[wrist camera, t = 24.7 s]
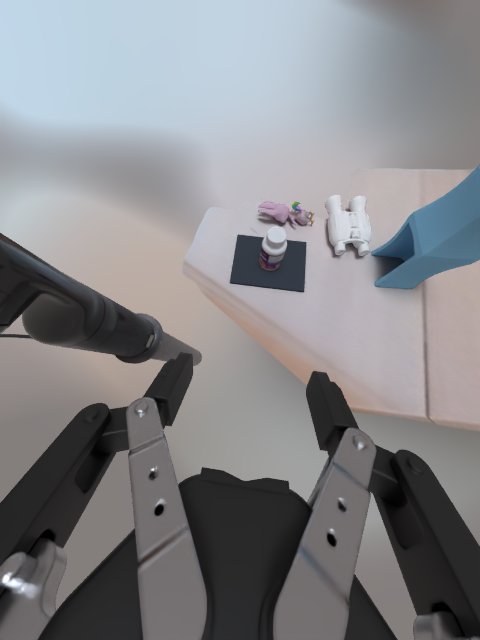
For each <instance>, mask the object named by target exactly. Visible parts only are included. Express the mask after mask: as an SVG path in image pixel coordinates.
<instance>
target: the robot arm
mask: <svg viewBox="0 0 480 640" xmlns="http://www.w3.org/2000/svg"><path fill="white" fill-rule="evenodd" d="M21 314H22V321H23V326H24V328H25V330H26V332H27V333H28V334H29V335H16V334H1V333H2V332H4V331H5V330H6V329H7V328H8V327H9V326H10V325H11V324H12V323H13V322H14V321H15V320H16V319H17V318H18V317H19V316H20V315H21ZM0 337H18V338H32V339H35V340H36V341H39V342H41V343H44V344H49V345H54V346H61V347H67V348H74V349H81V350H88V351H94V352H101V353H107V354H114V355H120V356H125V357H130V358H135V357H140V356H142V355H144V354H146V353H147V352H148V351H149V350H150V349H151V348H152V346H153V345H154V342H155V339H156V331H155V328H154V326H153V324H152V323H151V322H149V321H148V320H146V319H144V318H142V317H140V316H139V315H137V314H135V313H133V312H131V311H130V310H128V309H126V308H125V307H123V306H121V305H119V304H118V303H116V302H114V301H112V300H111V299H109V298H107V297H105V296H103V295H102V294H100V293H98V292H96V291H95V290H93V289H91V288H89V287H88V286H86V285H84V284H82V283H80V282H78V281H76V280H75V279H73V278H71V277H69V276H67V275H66V274H64V273H62V272H60V271H59V270H57V269H56V268H54V267H53V266H51V265H50V264H48V263H47V262H45V261H43V260H42V259H40V258H39V257H37V256H36V255H34V254H33V253H31V252H30V251H28V250H26V249H25V248H23V247H22V246H20V245H19V244H17V243H16V242H14V241H12V240H11V239H9V238H8V237H6V236H4V235H3V234H1V233H0ZM192 376H193V356H192V354H189V353H182V352H181V353H180V354H179V355H178V357H177V359H176V360H175V359H171V360H169V361H168V362H167V363H165V364H164V366H163V367H162V369H161V371H160V372H159V373H158V375H157V377H156V378H155V379H154V381H153V382H152V384H151V385H150V387H149V388H148V390H147V391H146V393H145V395H144V396H143V397H142V398H140V399H137V400H135V401H134V402H133V403H131V404H130V406H127V407H123V408H116V409H109V408H108V406H107V405H106V404H103V403H96V404H92V405H90V406H88V407H86V408H84V409H82V410H81V411H80V412H79V413H78V414H77V415H76V416H75V417H74V419H73V420H72V421H71V422H70V423H69V424H68V425H67V427H66V428H65V429H64V430H63V431H62V432H61V433H60V435H59V436H58V437H57V438H56V439H55V440H54V442H53V443H52V444H51V445H50V446H49V447H48V449H47V450H46V451H45V452H44V453H43V454H42V456H41V457H40V458H39V459H38V460H37V461H36V463H35V464H34V465H33V466H32V467H31V468H30V469H29V471H28V472H27V473H26V474H25V475H24V476H23V478H22V479H21V480H20V481H19V482H18V483H17V485H16V486H15V487H14V488H13V489H12V490H11V491H10V493H9V494H8V495H7V496H6V497H5V498H4V500H3V501H2V502H1V503H0V640H397V638H396V637H395V635H394V633H393V632H392V630H391V629H390V628H389V626H388V624H387V623H386V621H385V620H384V618H383V617H382V615H381V614H380V612H379V611H378V609H377V607H376V606H375V605H374V603H373V601H372V600H371V598H370V597H369V595H368V594H367V592H366V591H365V589H364V588H363V586H362V585H361V583H360V581H359V580H358V578H357V577H356V575H355V574H354V571H355V567H356V562H357V558H358V553H359V548H360V544H361V539H362V534H363V530H364V526H365V521H366V516H367V512H368V507H369V503H370V497H371V494H370V492H371V493H373V495H374V498H375V500H376V503H377V506H378V509H379V512H380V514H381V517H382V520H383V523H384V525H385V528H386V531H387V534H388V536H389V539H390V542H391V544H392V547H393V550H394V553H395V556H396V558H397V561H398V564H399V567H400V569H401V572H402V575H403V578H404V580H405V583H406V586H407V589H408V591H409V594H410V597H411V600H412V603H413V605H414V608H415V611H416V614H417V617H416V619H415V621H414V625H413V632H414V633H413V634H414V640H480V546H479V545H478V543H477V542H476V540H475V539H474V537H473V535H472V534H471V532H470V530H469V529H468V527H467V526H466V524H465V523H464V521H463V519H462V518H461V516H460V515H459V513H458V511H457V510H456V508H455V507H454V505H453V503H452V502H451V501H450V499H449V497H448V496H447V494H446V492H445V491H444V489H443V488H442V486H441V485H440V483H439V481H438V480H437V478H436V477H435V475H434V473H433V472H432V470H431V469H430V467H429V466H428V465H427V464H426V463H425V462H424V461H423V460H422V459H421V458H420V457H419V456H417V455H416V454H414V453H412V452H410V451H407V450H399V451H398V452H396V453H395V454H394V453H392V452H390V451H388V450H385V449H383V448H381V447H379V446H377V445H375V444H374V443H373V441H372V440H371V438H370V437H369V436H368V435H367V434H366V433H364V432H363V431H361V430H360V429H359V428H358V425H357V423H356V421H355V419H354V417H353V415H352V412H351V410H350V408H349V406H348V405H347V402H346V400H345V398H344V395H343V393H342V391H341V389H340V388H339V387H338V386H337V385H336V384H335V382H330V380H329V377H328V375H327V373H324V372H317V371H313V372H312V375H311V377H310V380H309V383H308V385H307V388H306V397H307V401H308V405H309V409H310V412H311V416H312V420H313V424H314V428H315V432H316V436H317V440H318V444H319V448H320V450H324V451H328V455H329V458H328V459H327V461H326V463H325V466H324V468H323V470H322V472H321V475H320V477H319V479H318V481H317V484H316V486H315V488H314V490H313V492H312V494H311V496H310V497H309V499H308V502H306V501H305V500H304V499H303V498H302V497H300V496H299V495H298V494H297V493H295V492H294V491H292V490H290V489H289V482H288V481H284V480H278V479H271V478H263V479H257V480H251V481H243V480H240V479H239V478H236V477H234V476H233V475H231V474H229V473H226V472H225V471H221V470H215V469H210V468H203V467H202V470H201V474H198V475H194V476H191V477H189V478H187V479H185V480H184V481H182V482H181V483H179V484H178V483H177V479H176V475H175V472H174V467H173V464H172V460H171V456H170V452H169V449H168V444H167V441H166V437H165V435H164V431H163V429H164V428H165V425H166V426H172V424H173V421H174V419H175V417H176V414H177V412H178V409H179V407H180V405H181V403H182V400H183V398H184V395H185V393H186V391H187V389H188V386H189V384H190V382H191V379H192ZM129 449H130V452H129V454H128V459H129V471H130V481H131V492H132V503H133V513H134V523H135V528H134V529H133V530H132V532H131V533H130V534H129V535H128V536H127V537H126V538H125V539H124V540H123V541H122V542H121V543H120V544H119V545H118V546H117V547H116V548H115V549H114V550H113V551H112V552H111V553H110V554H109V555H108V556H107V557H106V558H105V559H104V560H103V561H102V562H101V563H100V564H99V565H98V566H97V568H95V569H94V571H93V572H92V573H91V574H90V575H89V576H88V577H87V578H86V579H85V580H84V581H83V582H82V583H81V584H80V585H79V586H78V587H77V588H76V589H75V590H74V591H73V592H72V593H71V594H70V595H69V596H68V597H67V598H66V600H65V601H64V602H63V603H62V605H61V606H60V607H59V608H58V609H57V611H56V608H55V600H56V594H57V590H58V587H59V584H60V582H61V579H62V577H63V575H64V572H65V569H66V564H67V556H66V553H65V551H64V550H63V547H64V545H65V544H66V542H67V540H68V538H69V537H70V535H71V533H72V531H73V529H74V527H75V526H76V524H77V522H78V520H79V519H80V517H81V515H82V513H83V512H84V510H85V508H86V506H87V504H88V503H89V500H90V499H91V497H92V495H93V494H94V492H95V490H96V488H97V486H98V484H99V483H100V481H101V479H102V477H103V476H104V474H105V472H106V470H107V468H108V467H109V465H110V463H111V461H112V459H113V457H114V456H115V454H116V452H119V451H124V450H129Z"/></svg>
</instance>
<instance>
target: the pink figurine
mask: <svg viewBox="0 0 480 640" xmlns="http://www.w3.org/2000/svg"><path fill="white" fill-rule="evenodd" d="M298 204H300V203H299V202H295V203H293V205H292V208H293V209H292V211H291V212H289V208H288V206H286V205H284V204H275V203H273V202H264V203H262V204H261V205H259V207H260V208H266V209H262V210H258V212H261V213H265V214H268V215H270V216H272V217H275V219H276V220H278V221H280V222H282V223H284V222H286V220H287V218H288V217H289V218H290V219H291V221H292V222H293V223H294V224H295V225H297V223H296V222H295V221H294V220H297V221H298V222H299V223H300V224H302V225H305V224H307V223H308V222H309V221H311V226H312V224H313V222H314V221H312V220H311V219H312V216H313V215H314V214H312V213H311V212H306V211H305V210H302V209H301V208H300V207H299V206H298ZM294 210H295V211H299V212H297V213H295V212H294ZM309 214H311V219H308V218H307V217H308V216H309Z"/></svg>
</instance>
